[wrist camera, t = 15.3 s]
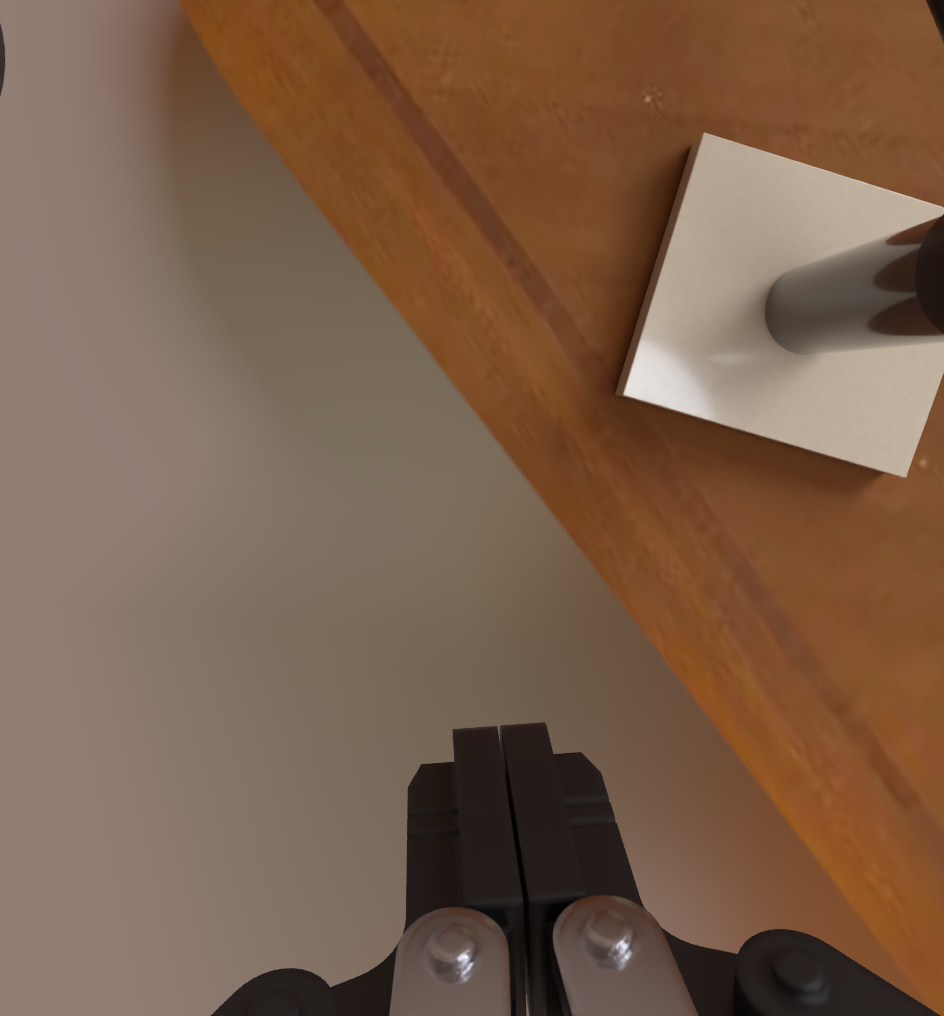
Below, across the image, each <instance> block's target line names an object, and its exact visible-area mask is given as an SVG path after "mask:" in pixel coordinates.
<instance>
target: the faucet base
mask: <svg viewBox="0 0 944 1016" xmlns="http://www.w3.org/2000/svg"><path fill="white" fill-rule="evenodd" d="M943 214H944V207H941V206H938V205H935V204H931V203H928V202H925V201H922V200H919V199H915V198H912V197H909V196H906V195H903V194H899V193H896V192H893V191H890V190H887V189H883V188H880V187H877V186H874V185H871V184H867V183H864V182H861V181H858V180H855V179H851V178H848V177H845V176H842V175H839V174H835V173H832V172H829V171H826V170H823V169H819V168H816V167H813V166H810V165H807V164H803V163H800V162H797V161H794V160H791V159H787V158H784V157H781V156H778V155H775V154H771V153H768V152H765V151H762V150H759V149H755V148H752V147H749V146H746V145H743V144H739V143H736V142H733V141H730V140H727V139H723V138H720V137H717V136H714V135H711V134H707V133H703V134H702V135H701V136H700V137H699V138H698V139H697V140H696V141H695V142H694V144H693V145H692V146H691V149H690V152H689V155H688V159H687V162H686V165H685V168H684V172H683V175H682V178H681V181H680V185H679V188H678V191H677V194H676V198H675V201H674V204H673V207H672V211H671V214H670V217H669V220H668V224H667V227H666V230H665V233H664V237H663V240H662V243H661V246H660V250H659V253H658V256H657V259H656V263H655V266H654V269H653V272H652V275H651V279H650V282H649V285H648V288H647V292H646V295H645V298H644V301H643V305H642V308H641V311H640V314H639V318H638V321H637V324H636V327H635V331H634V334H633V337H632V340H631V344H630V347H629V350H628V353H627V357H626V360H625V363H624V366H623V370H622V373H621V376H620V379H619V383H618V386H617V389H616V392H615V395H617V396H620V397H624V398H627V399H630V400H634V401H637V402H641V403H644V404H647V405H651V406H654V407H658V408H661V409H665V410H668V411H671V412H675V413H678V414H682V415H685V416H688V417H692V418H695V419H699V420H702V421H705V422H709V423H712V424H716V425H719V426H723V427H726V428H729V429H733V430H736V431H740V432H743V433H746V434H750V435H753V436H757V437H760V438H763V439H767V440H770V441H774V442H777V443H781V444H784V445H787V446H791V447H794V448H798V449H801V450H804V451H808V452H811V453H815V454H818V455H821V456H825V457H828V458H832V459H835V460H839V461H842V462H845V463H849V464H852V465H856V466H859V467H862V468H866V469H869V470H873V471H876V472H880V473H883V474H887V475H892V476H897V477H902V478H906V476H907V473H908V470H909V467H910V464H911V462H912V459H913V456H914V453H915V451H916V448H917V445H918V442H919V439H920V437H921V434H922V431H923V428H924V426H925V423H926V420H927V417H928V414H929V412H930V409H931V406H932V403H933V401H934V398H935V395H936V392H937V389H938V387H939V384H940V381H941V378H942V376H943V373H944V334H943V333H942V332H941V331H939V330H938V329H937V328H936V327H935V326H934V325H933V324H932V323H931V322H930V321H929V319H928V318H927V316H926V315H925V314H924V312H923V310H922V308H921V306H920V303H919V300H918V298H917V294H916V289H915V278H914V276H915V265H916V259H917V255H918V252H919V249H920V247H921V244H922V242H923V240H924V238H925V236H926V235H927V233H928V231H929V230H930V228H931V227H932V226H933V225H934V223H935V222H936V221H937V220H938V219H939V218H940V217H941V216H942V215H943Z"/></svg>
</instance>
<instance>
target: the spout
mask: <svg viewBox="0 0 944 1016" xmlns="http://www.w3.org/2000/svg"><path fill="white" fill-rule="evenodd" d="M926 1H927V4H928V6H929V9H930V11H931V13H932V16H933V18H934V21H935V23H936V26H937V28H938V31H939V33H940V35H941V38H942V40H943V43H944V0H926ZM914 278H915V289H916V294H917V298H918V300H919V303H920V306H921V308H922V310H923V312H924V314H925V315H926V316H927V318H928V319H929V321H930V322H931V323H932V324H933V325H934V326H935V327H936V328H937V329H938V330H939V331H941V332H942V333H943V334H944V214H943V215H942V216H941V217H940V218H939V219H938V220H937V221H936V222H935V223H934V225H933V226H932V227H931V228H930V230H929V231H928V233H927V235H926V236H925V238H924V240H923V242H922V244H921V247H920V249H919V252H918V255H917V259H916V265H915V276H914Z"/></svg>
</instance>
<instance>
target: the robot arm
mask: <svg viewBox="0 0 944 1016" xmlns="http://www.w3.org/2000/svg"><path fill="white" fill-rule="evenodd" d="M453 745H454V762H446V763H432V764H421V766H420V768H419V769H418V771H417V773H416V775H415V776H414V778H413V780H412V781H411V783H410V785H409V786H408V812H407V813H408V819H407V885H406V923H405V928H404V932H403V935H402V937H401V939H400V941H399V943H398V945H397V946H396V948H395V949H394V951H393V952H392V953H391V954H390V955H389V956H388V957H387V958H386V959H385V960H384V961H383V962H382V963H380V964H379V965H378V966H376V967H375V968H374V969H372V970H370V971H369V972H367V973H364V974H362V975H360V976H358V977H356V978H353V979H351V980H348V981H346V982H343V983H341V984H338V985H335V986H333V987H329V985H328V984H327V983H326V982H325V981H324V980H323V979H322V978H321V977H319V976H318V975H316V974H314V973H312V972H309V971H305V970H302V969H295V968H289V969H278V970H273V971H270V972H267V973H264V974H262V975H260V976H258V977H255V978H253V979H252V980H250V981H249V982H247V983H245V984H244V985H243V986H242V987H241V988H239V989H238V990H237V991H236V992H235V993H234V994H233V995H232V996H230V998H228V999H227V1000H226V1001H225V1002H224V1003H223V1004H222V1005H221V1006H220V1007H219V1008H218V1009H217V1010H216V1011H215V1012H214V1013H213V1014H212V1015H211V1016H526V995H527V1003H528V1010H529V1016H940V1015H939V1014H937V1013H936V1012H934V1011H932V1010H931V1009H929V1008H928V1007H926V1006H925V1005H923V1004H921V1003H920V1002H918V1001H917V1000H915V999H913V998H912V997H910V996H909V995H907V994H906V993H904V992H902V991H901V990H899V989H898V988H896V987H895V986H893V985H892V984H890V983H888V982H887V981H885V980H884V979H882V978H880V977H879V976H877V975H876V974H874V973H872V972H871V971H869V970H868V969H866V968H865V967H863V966H862V965H860V964H858V963H857V962H855V961H854V960H852V959H850V958H849V957H847V956H846V955H844V954H843V953H841V952H840V951H838V950H836V949H835V948H833V947H832V946H830V945H829V944H827V943H825V942H823V941H821V940H820V939H818V938H816V937H813V936H811V935H809V934H805V933H802V932H798V931H793V930H787V929H774V930H767V931H764V932H760V933H758V934H756V935H754V936H752V937H751V938H749V939H748V940H747V941H746V942H745V943H744V944H743V946H742V947H741V949H740V951H739V953H738V954H735V953H730V952H725V951H720V950H715V949H710V948H705V947H701V946H697V945H693V944H690V943H688V942H685V941H683V940H680V939H679V938H677V937H675V936H673V935H671V934H670V933H668V932H667V931H665V930H664V929H663V928H661V927H660V925H659V923H658V922H657V921H656V919H655V918H654V917H653V916H652V915H651V914H650V913H649V912H648V911H647V910H646V909H645V908H644V906H643V904H642V901H641V899H640V896H639V893H638V890H637V887H636V883H635V880H634V877H633V874H632V870H631V867H630V864H629V861H628V858H627V855H626V851H625V848H624V845H623V842H622V838H621V835H620V832H619V829H618V826H617V823H616V822H615V817H614V813H613V810H612V807H611V803H610V802H609V797H608V794H607V791H606V788H605V784H604V781H603V778H602V775H601V772H600V771H599V770H598V769H597V768H596V767H595V766H594V765H593V764H592V763H591V762H590V761H589V760H588V759H587V758H586V757H585V756H584V755H583V754H582V753H581V752H577V753H564V754H553V751H552V747H551V743H550V738H549V734H548V730H547V726H546V723H544V722H543V723H529V724H515V725H501V726H500V741H499V735H498V729H497V726H491V727H477V728H463V729H453ZM500 747H501V748H500Z"/></svg>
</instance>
